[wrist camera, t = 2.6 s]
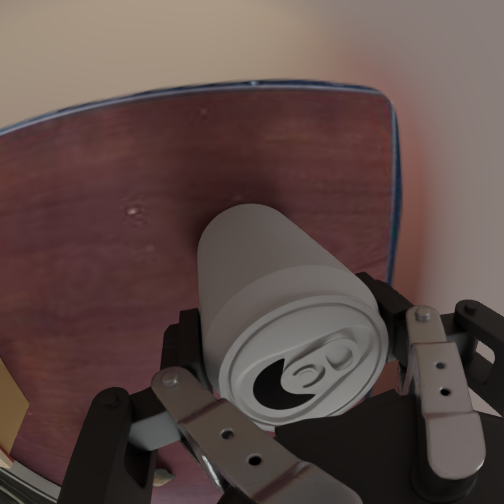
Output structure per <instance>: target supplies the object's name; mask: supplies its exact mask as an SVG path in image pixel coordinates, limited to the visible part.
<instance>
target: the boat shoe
mask: <svg viewBox="0 0 504 504" xmlns="http://www.w3.org/2000/svg"><path fill="white" fill-rule="evenodd" d="M60 490H61V487H59V486H57V485H55V484H54V483H52V482H50V481H48V480H46V479H44V478H43V477H41V476H39V475H37V474H36V473H34V472H32V471H31V470H29V469H28V468H26V467H25V466H23V465H22V464H20V463H19V462H17V461H16V460H15V461H14V463H13V464H12V467H11V469H9V468H4V467H0V504H56V503H57V500H58V496H59V493H60Z"/></svg>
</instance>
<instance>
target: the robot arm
mask: <svg viewBox="0 0 504 504" xmlns="http://www.w3.org/2000/svg"><path fill="white" fill-rule="evenodd" d="M354 275H355V276H357V277H358V278H359V279H360V280H361V281H362V282H363V283H364V284H365V285H366V286H367V287H368V288H369V290H370V291H371V293H372V294H373V296H374V298H375V300H376V302H377V305H378V309H379V313H380V316H381V318H382V320H383V321H384V323H385V326H386V329H387V332H388V341H389V346H388V353H387V358H386V363H388V362H391V361H393V360H396V359H397V360H398V361H399V362H398V368H397V369H398V392H399V393H397V392H396V391H395V389H392V390H389V391H386V392H384V393H382V394H379V395H376V396H374V397H371V398H368V399H366V400H365V401H363V402H362V403H360V404H359V405H357V406H355V407H354V408H352V409H350V410H349V411H347V412H346V413H344V414H342V415H338V416H330V417H320V418H309V419H303V420H300V421H296V422H292V423H289V424H285V425H281V426H276V427H274V429H275V435H276V436H275V437H273V438H272V437H271V436H269V435H268V434H267V433H266V432H265V431H263V430H262V429H261V428H260V427H259V426H257V425H256V424H255V423H254V422H253V421H251V420H250V419H249V418H248V417H247V416H246V415H245V414H243V413H242V412H241V411H240V410H239V409H238V408H237V407H235V406H234V405H233V404H232V403H231V402H230V401H229V400H227V399H226V398H221V399H219V400H218V399H216V398H215V397H214V396H213V388H212V385H211V383H210V381H209V380H208V377H207V374H206V371H205V366H204V360H203V350H202V336H201V321H200V315H199V311H198V308H194V309H189V310H184V311H180V317H179V324H173V325H170V326H169V327H168V328H167V330H166V331H165V332H164V338H163V347H162V348H163V349H162V356H161V366H160V371H159V372H157V373H156V374H155V375H154V376H153V378H152V380H151V386H150V387H149V388H147V389H145V390H142V391H140V392H137V393H134V394H131V395H129V394H128V392H127V391H126V390H125V389H123V388H119V387H112V388H108V389H105V390H103V391H101V392H100V393H98V394H97V395H96V396H95V398H94V399H93V401H92V404H91V406H90V409H89V411H88V414H87V416H86V419H85V421H84V424H83V426H82V429H81V432H80V434H79V437H78V440H77V443H76V445H75V448H74V451H73V454H72V457H71V459H70V462H69V465H68V468H67V471H66V474H65V477H64V480H63V483H62V487H61V490H60V493H59V496H58V500H57V503H56V504H151V496H152V488H153V481H154V473H155V466H156V459H157V453H158V448H160V447H163V446H165V445H168V444H171V443H173V442H176V441H178V440H179V441H180V443H181V444H182V445H183V446H184V448H185V449H186V450H187V451H188V453H189V454H190V455H191V456H192V458H193V459H194V460H195V461H196V463H197V464H198V465H199V466H200V467H201V469H202V470H203V471H204V472H205V474H206V475H207V476H208V478H209V479H210V481H211V482H212V483H213V484H214V486H215V487H216V488H217V489H218V490H219V491H220V492H221V494H222V497H221V498H220V500H219V501H218V503H217V504H504V317H503V316H501V315H500V314H498V313H496V312H495V311H493V310H492V309H490V308H488V307H486V306H485V305H483V304H482V303H480V302H478V301H475V300H462V301H459V302H458V303H457V304H456V307H455V312H454V313H450V314H444V315H439V313H438V311H437V310H436V309H434V308H432V307H429V306H423V305H418V306H414V305H413V304H412V303H410V302H409V301H408V300H407V299H406V298H404V297H403V296H402V295H401V294H399V293H398V292H397V291H396V290H394V289H393V288H392V287H391V286H390V285H389V284H387V283H385V282H383V281H380V280H374V279H373V278H372V277H371V276H370V275H368V274H367V273H366V272H361V273H356V274H354ZM478 341H481V342H482V343H484V344H485V345H486V346H488V347H489V348H491V349H492V350H493V352H494V355H495V361H494V364H492V363H491V362H489V361H488V360H486V359H485V358H484V357H483V356H481V355H480V354H479V353H477V352H476V348H477V344H478ZM468 387H469V388H471V389H472V390H473V391H474V392H475V393H476V394H478V395H479V396H480V397H481V398H482V399H483V400H484V401H485V402H486V403H488V404H489V405H490V406H491V407H492V408H493V409H494V410H496V411H497V412H498V413H499V414H500V415H501V416H502V417H503V418H502V417H498V416H494V415H490V414H487V413H483V412H479V411H475V410H473V407H472V403H471V398H470V394H469V390H468Z"/></svg>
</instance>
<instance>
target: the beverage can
mask: <svg viewBox="0 0 504 504" xmlns="http://www.w3.org/2000/svg"><path fill="white" fill-rule="evenodd" d="M197 264H198V286H199V305H200V321H201V336H202V350H203V360H204V366H205V371H206V374H207V377H208V380H209V381H210V383H211V385H212V386H213V388H214V389H215V391H216V392H217V393H218V394H219V395H220V396H221V398H226V399H227V400H229V401H230V402H231V403H232V404H233V405H234V406H235V407H237V408H238V409H239V410H240V411H241V412H242V413H243V414H245V415H246V416H247V417H248V418H249V419H250V420H251V421H253V422H254V423H255V424H256V425H257V426H259V427H260V428H261V429H262V430H266V431H275V429H274V427H276V426H281V425H285V424H289V423H292V422H296V421H300V420H303V419H309V418H320V417H330V416H338V415H340V414H342V413H344V412H345V411H347V410H348V409H349V408H351V407H352V406H353V405H354V404H356V403H357V402H358V401H359V400H360V399H361V398H362V397H363V396H364V395H365V394H366V393H367V392H368V391H369V390H370V388H371V387H372V386H373V384H374V383H375V382H376V380H377V378H378V377H379V375H380V373H381V371H382V369H383V367H384V364H385V361H386V358H387V353H388V346H389V341H388V332H387V329H386V326H385V323H384V321H383V320H382V318H381V316H380V313H379V309H378V305H377V302H376V300H375V298H374V296H373V294H372V293H371V291H370V290H369V288H368V287H367V286H366V285H365V284H364V283H363V282H362V281H361V280H360V279H359V278H358V277H357V276H355V275H354V274H353V273H352V272H351V271H350V270H348V269H347V268H346V267H345V266H344V265H343V264H342V263H340V262H339V261H338V260H337V259H336V258H335V257H333V256H332V255H331V254H330V253H329V252H327V251H326V250H325V249H324V248H323V247H322V246H320V245H319V244H318V243H317V242H316V241H314V240H313V239H312V238H311V237H310V236H308V235H307V234H306V233H305V232H304V231H302V230H301V229H300V228H299V227H298V226H296V225H295V224H294V223H293V222H291V221H290V220H289V219H288V218H287V217H285V216H284V215H283V214H282V213H280V212H279V211H277V210H275V209H273V208H271V207H268V206H265V205H260V204H242V205H238V206H234V207H231V208H229V209H227V210H225V211H223V212H222V213H220V214H219V215H217V216H216V217H215V218H214V219H213V220H212V221H211V222H210V223H209V224H208V226H207V227H206V228H205V230H204V232H203V234H202V236H201V238H200V241H199V244H198V250H197Z"/></svg>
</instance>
